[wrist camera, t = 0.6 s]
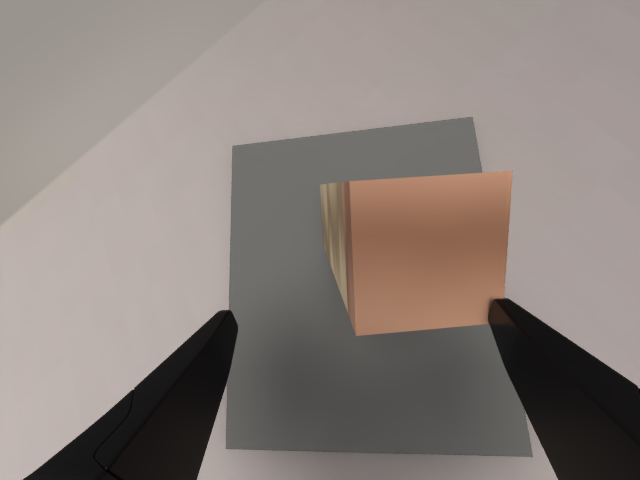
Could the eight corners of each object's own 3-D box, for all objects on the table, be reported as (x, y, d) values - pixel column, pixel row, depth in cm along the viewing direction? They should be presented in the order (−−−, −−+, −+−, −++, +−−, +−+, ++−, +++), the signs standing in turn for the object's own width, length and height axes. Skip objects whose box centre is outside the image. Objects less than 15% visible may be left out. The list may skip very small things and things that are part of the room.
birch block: (383, 241, 23) (502, 322, 9) (323, 246, 23) (355, 336, 9) (382, 180, 22) (512, 170, 8) (320, 184, 22) (349, 181, 8)
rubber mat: (527, 452, 19) (532, 456, 19) (229, 444, 22) (225, 448, 22) (469, 120, 25) (472, 116, 24) (235, 149, 28) (232, 146, 27)
